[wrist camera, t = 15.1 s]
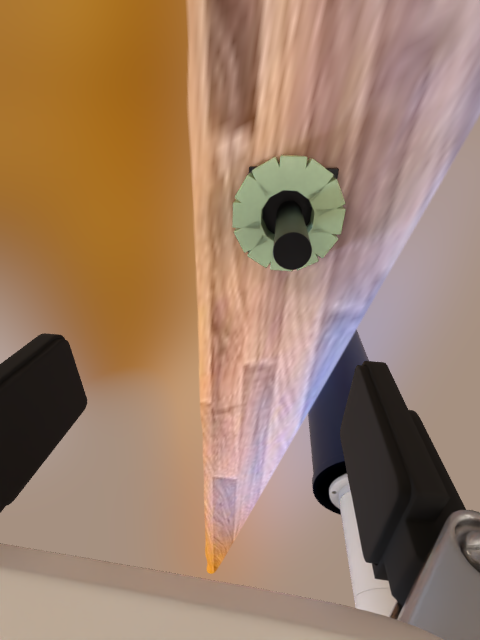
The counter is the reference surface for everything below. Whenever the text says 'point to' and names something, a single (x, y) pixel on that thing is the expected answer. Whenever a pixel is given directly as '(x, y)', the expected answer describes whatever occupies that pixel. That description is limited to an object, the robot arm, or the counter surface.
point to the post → (290, 226)
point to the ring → (288, 177)
